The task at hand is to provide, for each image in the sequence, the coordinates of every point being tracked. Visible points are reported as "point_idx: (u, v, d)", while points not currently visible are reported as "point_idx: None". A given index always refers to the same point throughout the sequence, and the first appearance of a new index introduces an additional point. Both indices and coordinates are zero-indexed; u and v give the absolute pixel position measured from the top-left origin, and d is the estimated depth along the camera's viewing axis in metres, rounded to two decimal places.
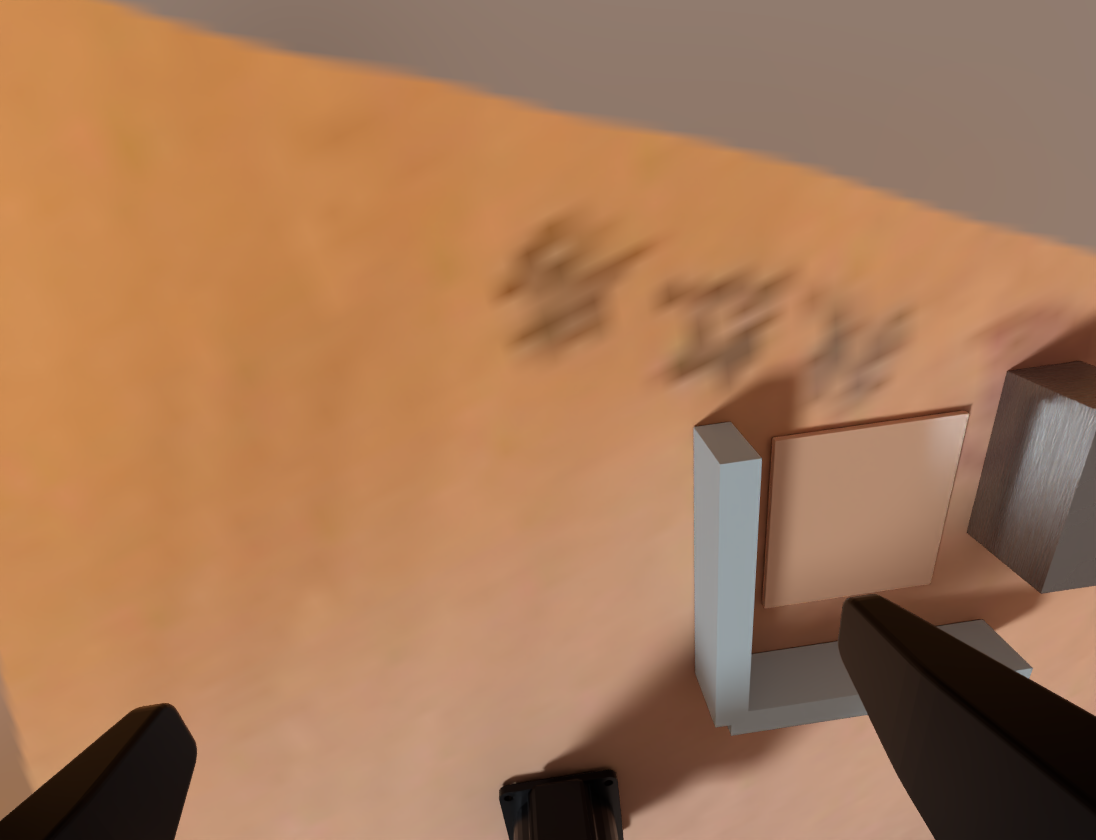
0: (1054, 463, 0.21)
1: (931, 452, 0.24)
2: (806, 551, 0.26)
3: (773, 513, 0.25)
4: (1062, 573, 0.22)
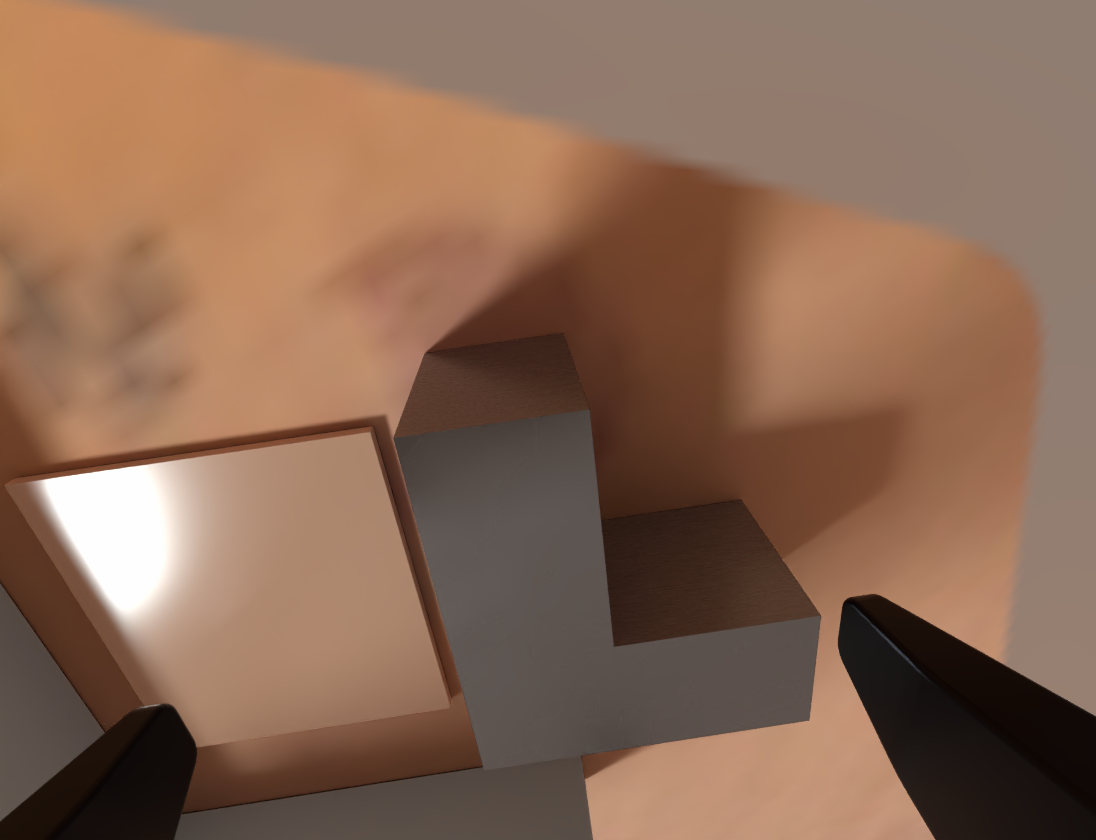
0: None
1: (333, 501, 0.13)
2: (192, 665, 0.15)
3: (90, 607, 0.14)
4: (508, 738, 0.12)
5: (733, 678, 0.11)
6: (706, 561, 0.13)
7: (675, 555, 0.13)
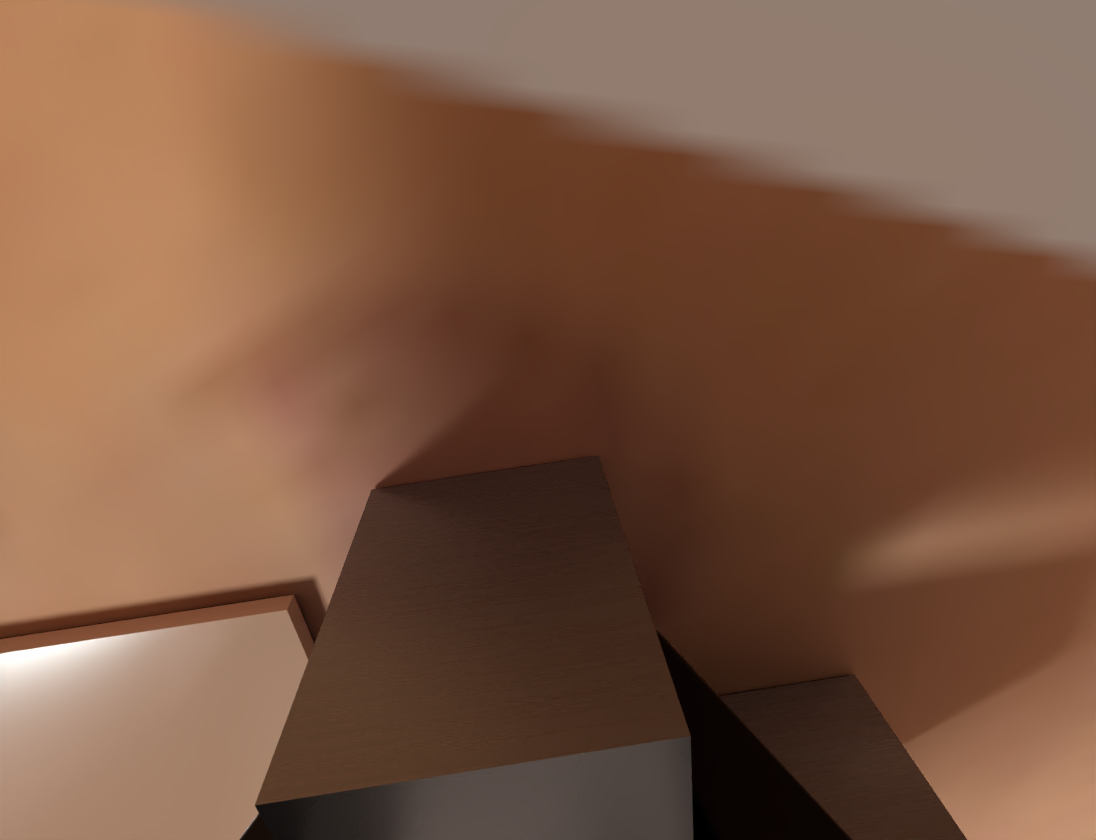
0: None
1: (236, 704, 0.08)
2: None
3: None
4: None
5: None
6: None
7: None
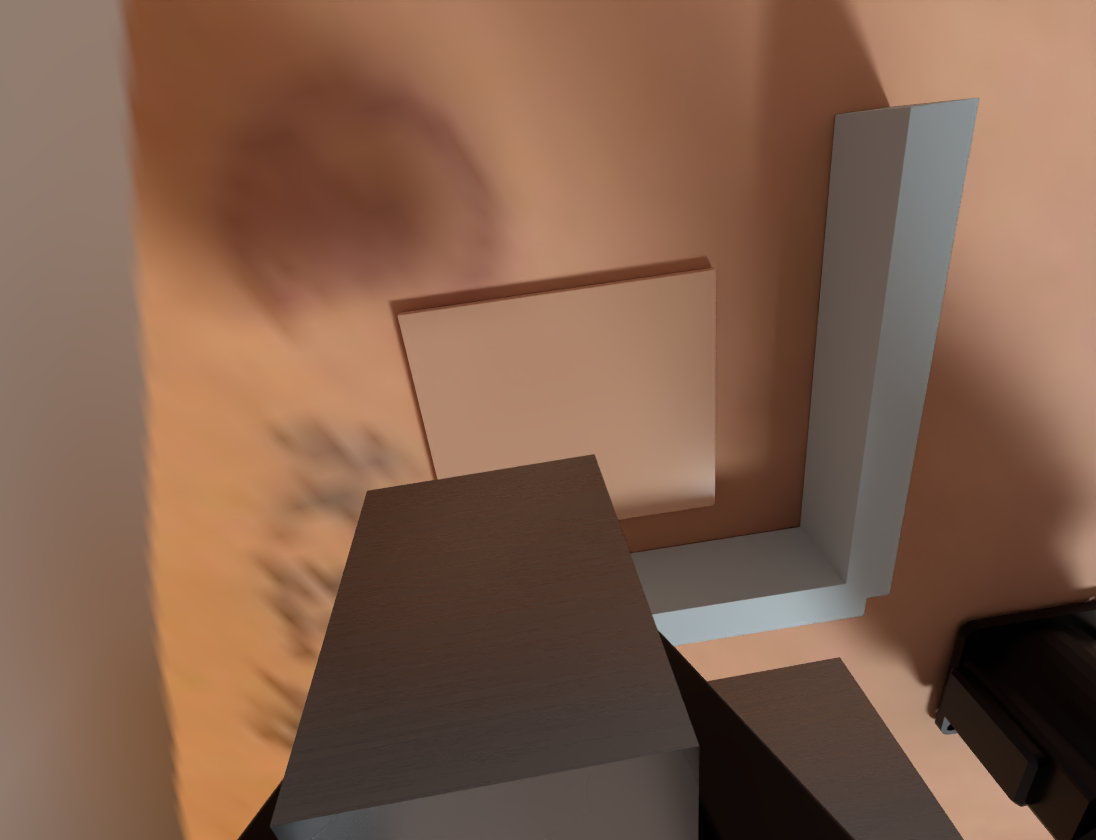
0: None
1: (463, 350, 0.16)
2: (622, 474, 0.19)
3: None
4: None
5: None
6: (815, 795, 0.08)
7: None
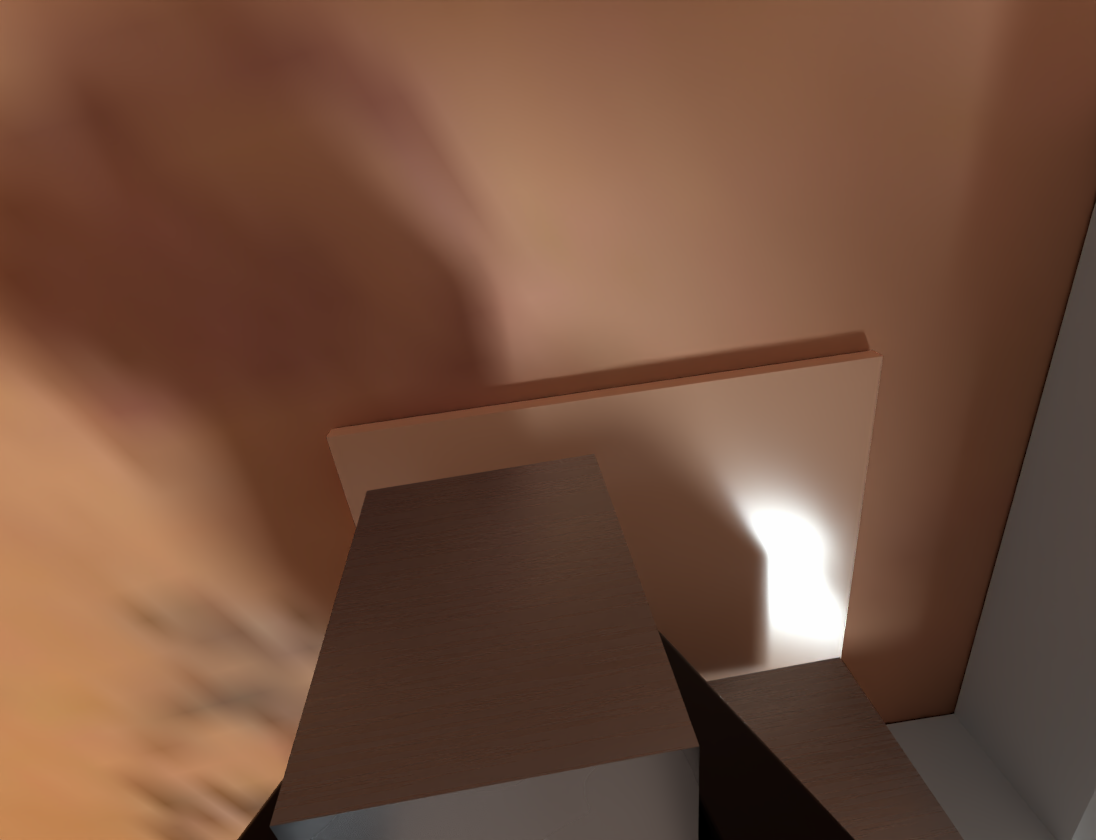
0: None
1: None
2: (698, 660, 0.12)
3: None
4: None
5: None
6: (815, 795, 0.08)
7: None
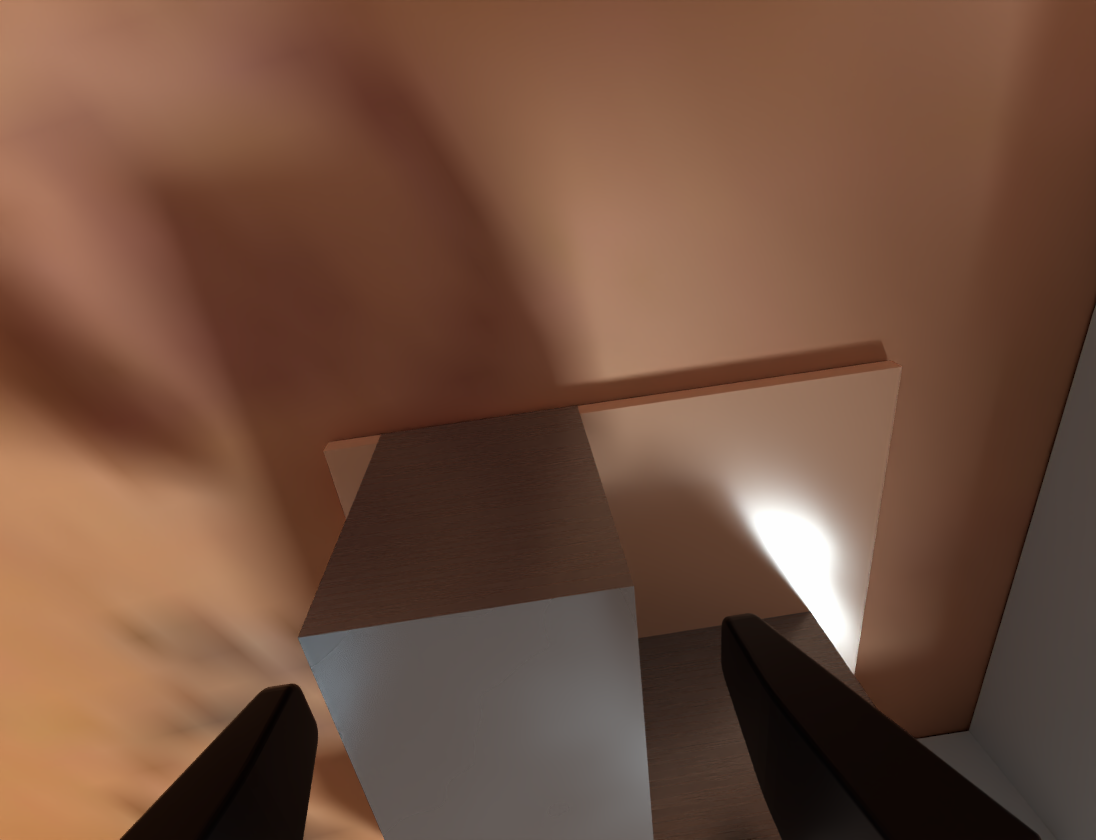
0: None
1: None
2: None
3: None
4: None
5: None
6: None
7: (731, 707, 0.09)
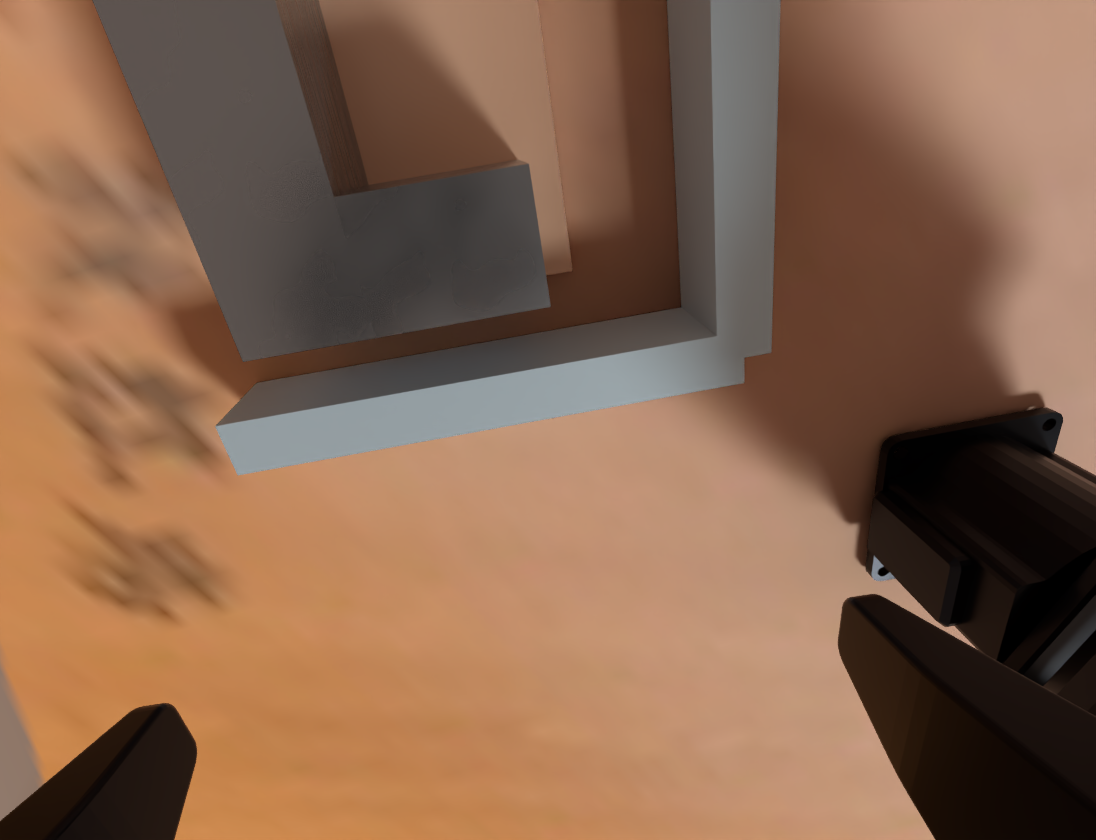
0: None
1: None
2: None
3: None
4: (257, 318, 0.12)
5: (462, 246, 0.12)
6: (456, 172, 0.13)
7: (431, 176, 0.14)
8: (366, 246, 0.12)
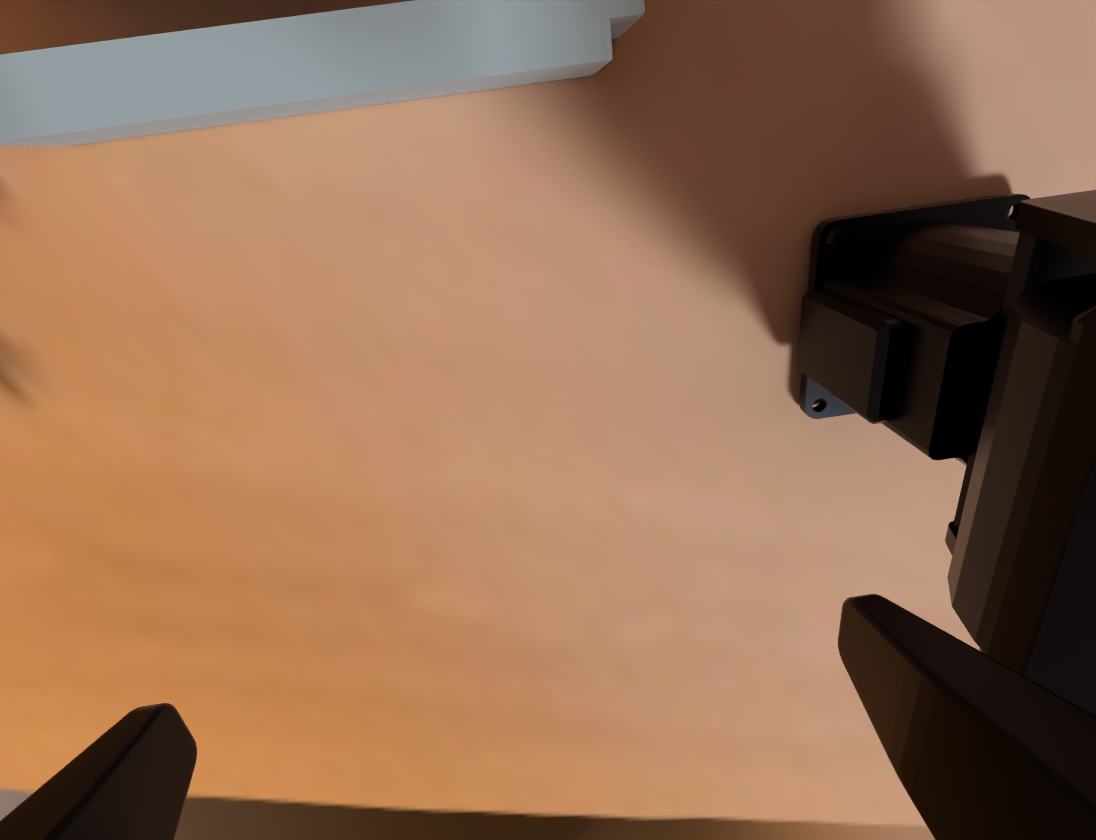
0: None
1: None
2: None
3: None
4: None
5: None
6: None
7: None
8: None
